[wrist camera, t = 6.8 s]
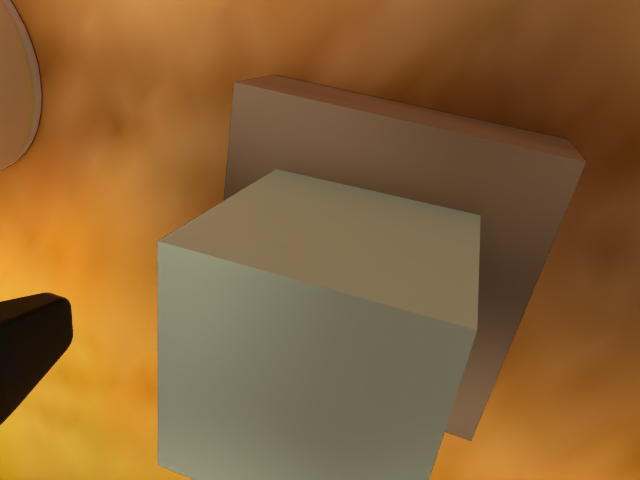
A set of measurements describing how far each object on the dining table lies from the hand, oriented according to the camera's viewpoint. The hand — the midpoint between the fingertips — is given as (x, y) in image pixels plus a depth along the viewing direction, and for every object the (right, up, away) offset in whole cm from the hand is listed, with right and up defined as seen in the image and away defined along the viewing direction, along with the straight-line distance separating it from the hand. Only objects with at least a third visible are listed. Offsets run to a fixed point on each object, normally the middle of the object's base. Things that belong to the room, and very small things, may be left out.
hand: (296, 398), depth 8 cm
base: (+2, +3, +7) cm, 8 cm away
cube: (+1, +2, +5) cm, 5 cm away
